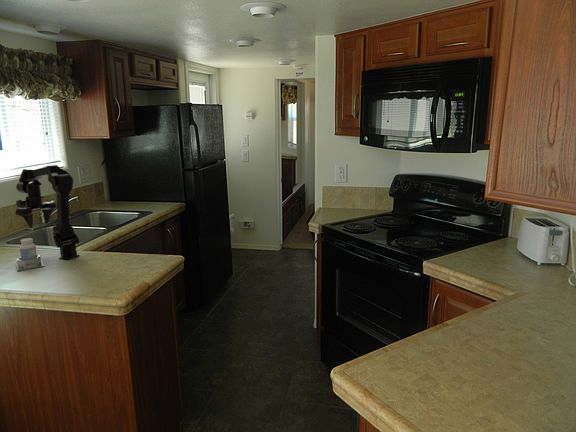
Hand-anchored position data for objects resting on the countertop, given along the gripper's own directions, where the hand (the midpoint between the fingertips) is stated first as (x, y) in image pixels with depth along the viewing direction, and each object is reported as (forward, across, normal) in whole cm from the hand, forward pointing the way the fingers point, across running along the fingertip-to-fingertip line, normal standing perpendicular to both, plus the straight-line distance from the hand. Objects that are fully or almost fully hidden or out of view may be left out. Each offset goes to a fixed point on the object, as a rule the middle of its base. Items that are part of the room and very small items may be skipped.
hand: (38, 225), depth 210 cm
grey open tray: (+13, +19, +12) cm, 26 cm away
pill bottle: (+13, +19, +12) cm, 26 cm away
